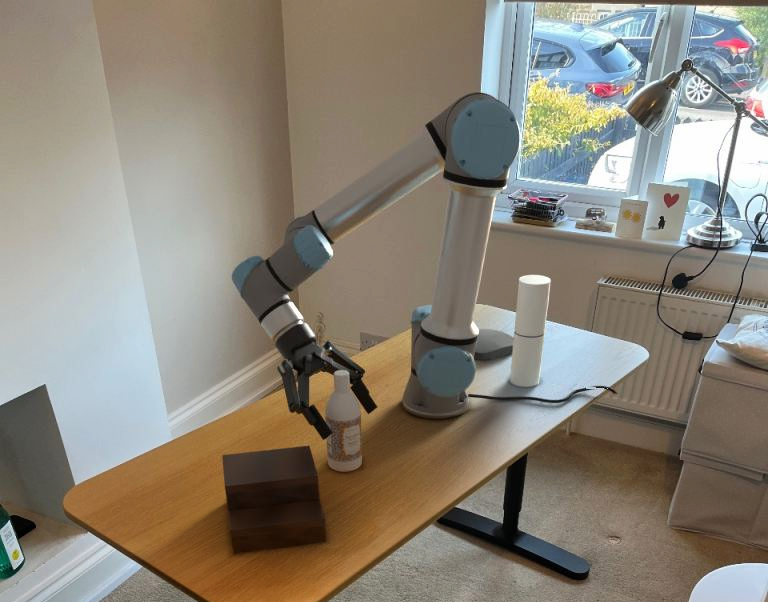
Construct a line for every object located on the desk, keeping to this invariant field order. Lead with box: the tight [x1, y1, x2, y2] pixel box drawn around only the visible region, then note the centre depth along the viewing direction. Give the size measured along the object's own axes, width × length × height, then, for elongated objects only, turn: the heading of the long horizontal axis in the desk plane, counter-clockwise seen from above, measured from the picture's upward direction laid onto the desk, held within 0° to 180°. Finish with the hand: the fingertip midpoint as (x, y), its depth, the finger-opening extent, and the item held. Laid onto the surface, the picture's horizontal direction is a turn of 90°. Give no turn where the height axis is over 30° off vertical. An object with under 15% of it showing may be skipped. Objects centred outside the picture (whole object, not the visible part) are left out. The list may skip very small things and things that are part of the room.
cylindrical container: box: [509, 274, 552, 388], centre depth 181 cm, size 7×7×25 cm
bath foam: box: [324, 370, 363, 473], centre depth 150 cm, size 7×7×20 cm
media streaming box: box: [474, 328, 514, 361], centre depth 205 cm, size 15×15×3 cm
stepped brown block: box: [221, 445, 327, 555], centre depth 136 cm, size 16×17×10 cm
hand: (351, 423), depth 149 cm, fingers open, 13 cm apart
